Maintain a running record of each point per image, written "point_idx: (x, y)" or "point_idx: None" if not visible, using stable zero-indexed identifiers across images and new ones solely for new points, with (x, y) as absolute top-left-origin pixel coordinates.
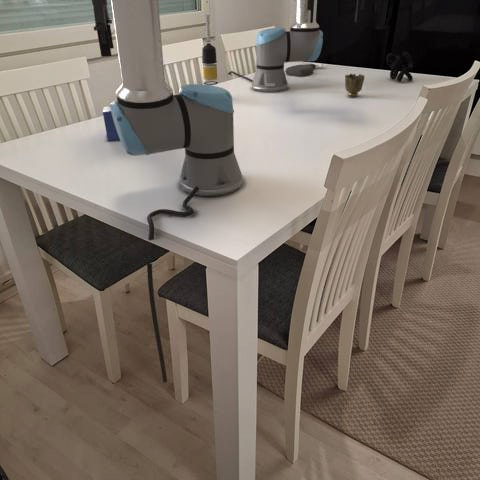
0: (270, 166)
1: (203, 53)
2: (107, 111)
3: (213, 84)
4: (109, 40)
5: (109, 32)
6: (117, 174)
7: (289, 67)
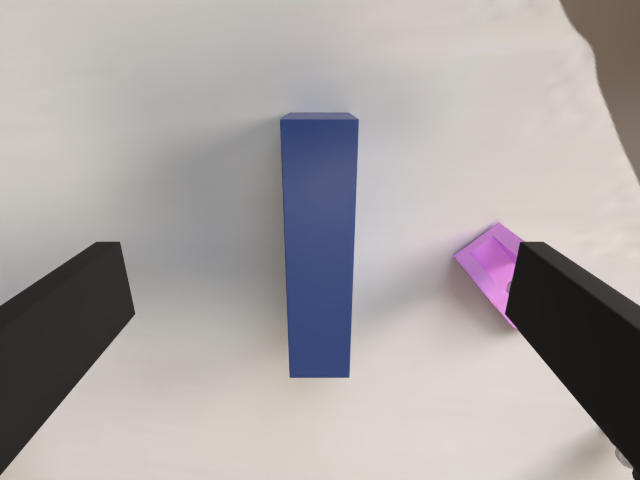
0: (69, 454)
1: None
2: (284, 139)
3: (632, 473)
4: (546, 331)
5: (593, 399)
6: (9, 154)
7: None
